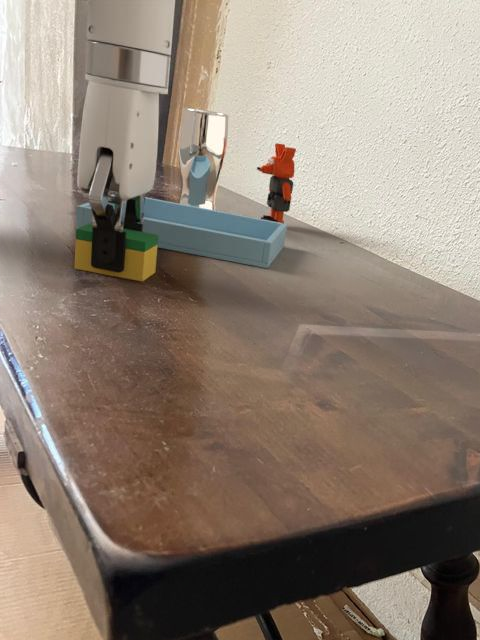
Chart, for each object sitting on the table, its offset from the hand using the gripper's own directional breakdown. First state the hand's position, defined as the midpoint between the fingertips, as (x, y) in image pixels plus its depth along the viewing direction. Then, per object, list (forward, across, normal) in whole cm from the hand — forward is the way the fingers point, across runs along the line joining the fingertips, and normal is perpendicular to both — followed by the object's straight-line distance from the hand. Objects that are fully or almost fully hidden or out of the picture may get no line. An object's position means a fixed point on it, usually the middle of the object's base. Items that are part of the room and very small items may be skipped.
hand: (116, 262), depth 76 cm
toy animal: (+1, -45, +9) cm, 46 cm away
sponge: (+1, 0, 0) cm, 1 cm away
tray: (+1, -22, +2) cm, 22 cm away
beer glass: (+1, -39, -1) cm, 39 cm away
